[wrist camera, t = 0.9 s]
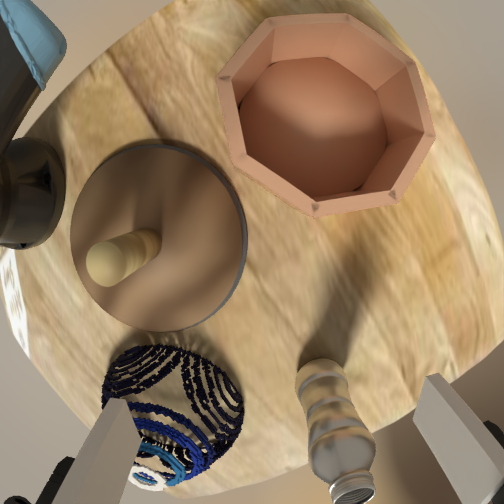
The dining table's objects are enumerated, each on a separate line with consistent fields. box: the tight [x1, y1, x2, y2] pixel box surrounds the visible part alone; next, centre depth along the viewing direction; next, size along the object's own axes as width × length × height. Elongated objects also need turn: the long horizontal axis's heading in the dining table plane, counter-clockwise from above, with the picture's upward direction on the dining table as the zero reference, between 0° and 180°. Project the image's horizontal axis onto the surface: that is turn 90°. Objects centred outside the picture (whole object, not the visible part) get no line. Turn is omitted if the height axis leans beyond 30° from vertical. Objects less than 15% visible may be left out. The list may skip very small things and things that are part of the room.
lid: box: [70, 147, 242, 332], centre depth 27 cm, size 21×21×11 cm
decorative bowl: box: [101, 343, 244, 491], centre depth 31 cm, size 20×20×14 cm
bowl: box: [216, 13, 436, 218], centre depth 26 cm, size 18×18×9 cm
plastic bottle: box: [295, 358, 376, 504], centre depth 26 cm, size 6×7×20 cm
